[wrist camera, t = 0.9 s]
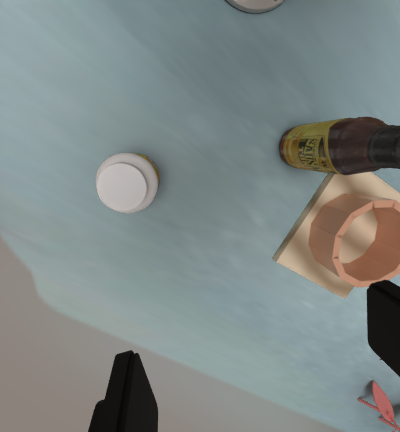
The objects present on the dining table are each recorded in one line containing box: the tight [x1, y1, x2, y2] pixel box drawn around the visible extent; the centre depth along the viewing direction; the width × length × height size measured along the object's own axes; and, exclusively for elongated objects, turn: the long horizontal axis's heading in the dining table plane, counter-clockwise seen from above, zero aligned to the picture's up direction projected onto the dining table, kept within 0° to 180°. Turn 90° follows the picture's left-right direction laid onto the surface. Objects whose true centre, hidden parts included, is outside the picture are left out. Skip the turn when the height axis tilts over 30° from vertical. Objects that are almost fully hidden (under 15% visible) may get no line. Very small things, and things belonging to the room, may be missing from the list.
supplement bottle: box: [96, 153, 160, 213], centre depth 30 cm, size 7×7×13 cm
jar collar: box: [308, 194, 400, 287], centre depth 38 cm, size 13×13×6 cm
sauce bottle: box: [280, 117, 400, 175], centre depth 28 cm, size 7×6×20 cm
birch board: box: [273, 172, 400, 299], centre depth 42 cm, size 20×16×2 cm
